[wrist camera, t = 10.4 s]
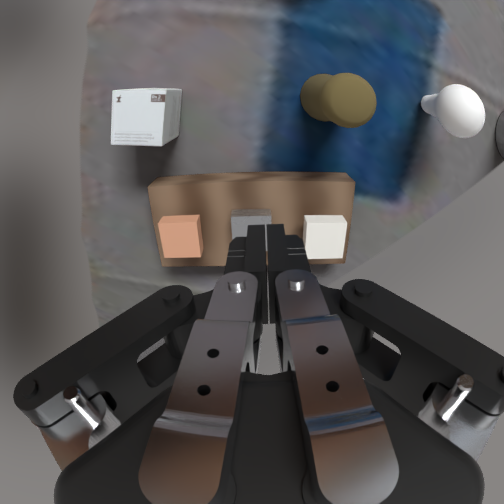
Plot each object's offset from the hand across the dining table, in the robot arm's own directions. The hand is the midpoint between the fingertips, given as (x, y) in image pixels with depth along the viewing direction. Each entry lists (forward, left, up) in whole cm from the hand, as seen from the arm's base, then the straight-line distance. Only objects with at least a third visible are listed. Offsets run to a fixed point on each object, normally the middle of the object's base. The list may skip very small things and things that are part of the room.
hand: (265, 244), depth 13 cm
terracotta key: (+9, +9, -19) cm, 23 cm away
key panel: (+1, +9, -25) cm, 26 cm away
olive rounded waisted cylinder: (-8, -6, -25) cm, 27 cm away
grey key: (+1, +9, -21) cm, 23 cm away
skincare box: (+12, -5, -25) cm, 28 cm away
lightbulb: (-22, -7, -25) cm, 34 cm away
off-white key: (-7, +9, -19) cm, 22 cm away
